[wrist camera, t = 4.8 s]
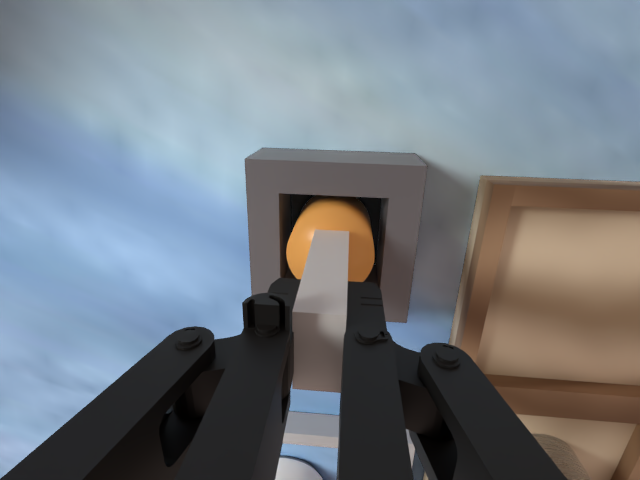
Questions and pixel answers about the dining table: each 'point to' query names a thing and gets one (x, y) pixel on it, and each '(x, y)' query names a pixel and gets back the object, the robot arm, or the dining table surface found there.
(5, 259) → the dining table surface
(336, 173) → the grey square egg holder
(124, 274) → the dining table surface
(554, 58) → the dining table surface
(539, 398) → the divided wooden tray
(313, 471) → the can
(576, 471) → the billet
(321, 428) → the grey rectangular frame
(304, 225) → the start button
